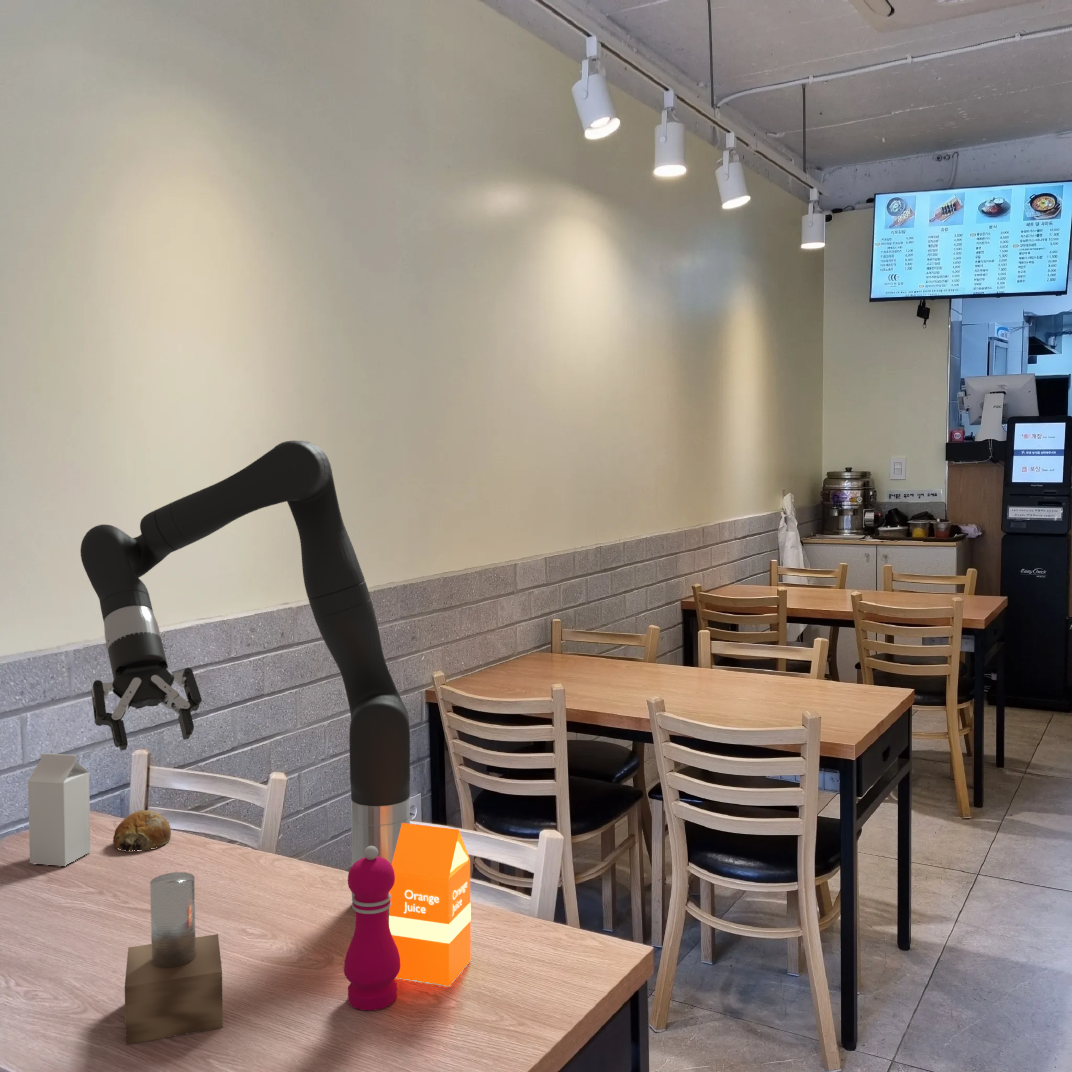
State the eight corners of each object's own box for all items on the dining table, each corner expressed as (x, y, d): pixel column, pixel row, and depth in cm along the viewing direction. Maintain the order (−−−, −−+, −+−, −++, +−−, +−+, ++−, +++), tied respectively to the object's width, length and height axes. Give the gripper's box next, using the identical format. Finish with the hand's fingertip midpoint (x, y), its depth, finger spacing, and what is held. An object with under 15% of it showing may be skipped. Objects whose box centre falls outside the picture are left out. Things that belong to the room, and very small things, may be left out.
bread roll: (174, 862, 186) (189, 819, 189) (130, 854, 178) (146, 810, 181) (141, 852, 192) (155, 811, 194) (97, 844, 184) (112, 801, 186)
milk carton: (65, 867, 174) (62, 760, 173) (29, 865, 176) (27, 758, 175) (91, 853, 181) (88, 750, 180) (56, 850, 183) (54, 748, 182)
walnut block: (218, 986, 132) (218, 934, 132) (222, 1027, 122) (222, 971, 121) (129, 1000, 128) (128, 947, 128) (125, 1044, 118) (124, 987, 118)
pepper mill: (375, 1019, 123) (373, 860, 123) (332, 1003, 127) (330, 849, 126) (412, 994, 130) (410, 843, 129) (370, 980, 133) (368, 833, 133)
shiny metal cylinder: (195, 946, 128) (194, 870, 128) (196, 964, 123) (194, 884, 123) (152, 952, 126) (150, 875, 126) (151, 971, 121) (149, 890, 121)
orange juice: (449, 988, 131) (448, 839, 130) (388, 978, 134) (387, 831, 133) (471, 962, 139) (470, 820, 138) (414, 953, 141) (413, 814, 141)
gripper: (85, 636, 141) (105, 739, 133) (188, 624, 149) (212, 721, 141) (79, 663, 146) (99, 763, 138) (179, 650, 154) (202, 745, 146)
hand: (156, 742), depth 140 cm, fingers open, 8 cm apart
